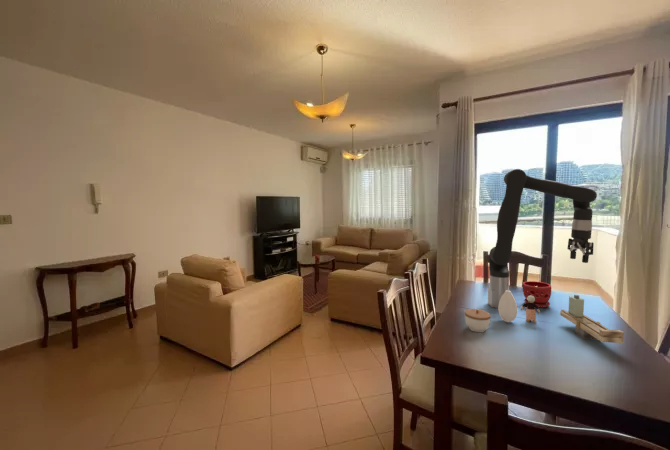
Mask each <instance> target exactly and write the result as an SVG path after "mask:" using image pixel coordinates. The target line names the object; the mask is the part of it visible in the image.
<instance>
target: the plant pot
mask: <svg viewBox="0 0 670 450" xmlns="http://www.w3.org/2000/svg"><path fill="white" fill-rule="evenodd" d="M522 292H523V296H524V303H529V302H528V300H527V297H528V296H534V297H535V301H534V302H533V303H534V304H536V305H537V306H538V308H548V307H549V306H550V305H551V303H550V298H551V296H552V285H551V284H550V283H547V282H541V281H534V280H533V281H531V280H530V281H523V282H522Z"/></svg>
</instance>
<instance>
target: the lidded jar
mask: <svg viewBox="0 0 670 450" xmlns="http://www.w3.org/2000/svg"><path fill="white" fill-rule="evenodd" d="M491 318H492V317H491V313H489V312H488V311H486V310H483V309H479V308H468V309H465V310H464V322H465V323H466V325H467V327H468V328H469V330H471V331H473V332H476V333H484V332H485V331H487V329H489V326H490V323H491Z"/></svg>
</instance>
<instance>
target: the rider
mask: <svg viewBox="0 0 670 450" xmlns="http://www.w3.org/2000/svg"><path fill="white" fill-rule="evenodd" d="M584 309H585V299H584V298H582V297H580V295H578V294H574V295H572V296H569V298H568V310H567V311H568V313H570V314H572V315H573V316H575V317H583V314H584Z"/></svg>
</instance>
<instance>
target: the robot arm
mask: <svg viewBox="0 0 670 450" xmlns="http://www.w3.org/2000/svg"><path fill="white" fill-rule="evenodd" d="M503 182H504V183H505V185H506V187H505V194H504V198H503V200H502V203H501V205H500V207H499V210H498V214H497V220H496V232H497V234H496V235H497V237H496V238H497V239H496V242H495V246H494V247H492V248H490V251H489V257H488V261H489V263H488V267H489V286H488V288H487V304H488V305H489V306H490V307H491V308H495V309H498V306H499V301H500V299H501V297H502V295H503V294H504V293H505V291H506V290H508V286H509V287H510V271H509V263H510V261H511V259H512V251H513V241H514V237H515V233H516V229H517V224H518V222H519V221H518V220H519V214H520V209H521V199H522V195H523V192H524V189H527V190H532V191H536V192H540V193H543V194H546V195H550V196H554V197H558V198H563V199H569V200H572V205H573V217H572V219H573V220H572V224H571V234H570V237H571V238H568V241H567V250H569V251H570V255H569V256H570V257H569V258H570V260H571V259H572V260H575V259H576V258H577V251H578V250H580V252H581V253H582V257H581V262H582V263H585V264H588V263H589V259H590V257H589V256H591V255H594V242H591V241H590V242H589V240H591V239H592V233H593V232H592V230H593V210H592V208H591V203H592V202H594V201H595V200H596V199H597V196H598V194H597V191H595V190H594V189H591V188H589V187H583V186H576V185H571V184H569V183H564V182H560V181H555V180H549V179H543V178H537V177H534V176H533V177H532V176H531V175H527V174H526V172H525V171H524V170H523V169H520V168H516V169H512V170H510V171H508V172H507V173H506V174H504V177H503Z"/></svg>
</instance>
